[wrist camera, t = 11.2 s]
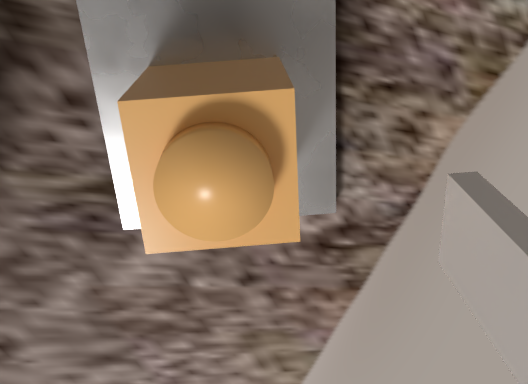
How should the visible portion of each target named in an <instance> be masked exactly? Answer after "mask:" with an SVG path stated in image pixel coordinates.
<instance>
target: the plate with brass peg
mask: <svg viewBox="0 0 528 384" xmlns="http://www.w3.org/2000/svg"><path fill="white" fill-rule="evenodd" d="M76 1H77V6H78V11H79V16H80V21H81V26H82V31H83V35H84V40H85V45H86V50H87V55H88V60H89V65H90V70H91V74H92V79H93V84H94V89H95V94H96V99H97V104H98V108H99V113H100V118H101V123H102V128H103V133H104V138H105V142H106V147H107V152H108V157H109V162H110V167H111V172H112V177H113V181H114V186H115V191H116V196H117V201H118V206H119V211H120V215H121V220H122V225H123V230H127V229H139V228H141V225H140V220H139V215H138V210H137V204H136V199H135V194H134V188H133V183H132V178H131V172H130V167H129V162H128V156H127V151H126V146H125V141H124V135H123V130H122V125H121V119H120V114H119V109H118V103H117V101H118V100H119V99H120V98H121V97H122V95H123V94H124V93H125V92H126V91H127V90H128V89H129V88H130V86H131V85H132V84H133V83H134V82H135V81H136V80H137V79H138V78H139V76H140V75H141V74H142V73H143V72H144V71H145V70H146V69H147V67H148V66H161V65H175V64H188V63H202V62H216V61H229V60H243V59H257V58H270V57H279V58H280V60H281V62H282V64H283V66H284V68H285V70H286V72H287V74H288V76H289V78H290V80H291V82H292V84H293V86H294V90H295V117H296V143H297V170H298V197H299V216H302V215H314V214H327V213H336V4H335V0H76Z"/></svg>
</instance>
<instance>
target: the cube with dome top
mask: <svg viewBox="0 0 528 384" xmlns="http://www.w3.org/2000/svg"><path fill="white" fill-rule="evenodd" d="M117 103H118V109H119V114H120V119H121V125H122V130H123V135H124V141H125V146H126V151H127V156H128V162H129V167H130V172H131V178H132V183H133V188H134V194H135V199H136V204H137V210H138V215H139V220H140V225H141V231H142V236H143V241H144V247H145V252H146V254H152V253H165V252H177V251H189V250H202V249H214V248H226V247H239V246H251V245H263V244H276V243H288V242H300V224H299V197H298V170H297V143H296V117H295V90H294V86H293V84H292V82H291V80H290V78H289V76H288V74H287V72H286V70H285V68H284V66H283V64H282V62H281V60H280V58H279V57H270V58H257V59H243V60H229V61H216V62H202V63H188V64H175V65H161V66H148V67H147V69H146V70H145V71H144V72H143V73H142V74H141V75H140V76H139V78H138V79H137V80H136V81H135V82H134V83H133V84H132V85H131V86H130V88H129V89H128V90H127V91H126V92H125V93H124V94H123V95H122V97H121V98H120V99H119V100H118V101H117Z"/></svg>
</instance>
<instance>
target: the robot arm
mask: <svg viewBox="0 0 528 384" xmlns="http://www.w3.org/2000/svg"><path fill="white" fill-rule="evenodd" d="M438 263H439V264H440V266H441V267H442V269H443V271H444V272H445V273H446V275H447V277H448V278H449V279H450V281H451V283H452V284H453V286H454V287H455V289H456V290H457V292H458V293H459V295H460V296H461V298H462V299H463V301H464V302H465V304H466V305H467V307H468V308H469V310H470V311H471V313H472V314H473V316H474V317H475V319H476V320H477V322H478V323H479V325H480V326H481V328H482V329H483V331H484V332H485V334H486V335H487V337H488V338H489V340H490V341H491V343H492V344H493V346H494V347H495V349H496V351H497V352H498V354H499V355H500V356H501V358H502V360H503V361H504V363H505V364H506V366H507V367H508V369H509V370H510V372H511V373H512V375H513V376H514V378H515V379H516V381H517V382H518V384H528V217H527V216H526V215H525V214H524V213H523V212H521V211H520V210H519V209H518V208H517V207H516V206H515V205H513V203H511V202H510V201H509V200H508V199H507V198H506V197H505V196H503V195H502V194H501V193H500V192H499V191H498V190H497V189H496V188H495V187H494V186H492V185H491V184H490V183H489V182H488V181H487V180H486V179H484V178H483V177H482V176H481V175H480V174H479V173H478V172H465V173H453V174H448V178H447V187H446V196H445V205H444V213H443V223H442V232H441V241H440V251H439V259H438Z"/></svg>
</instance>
